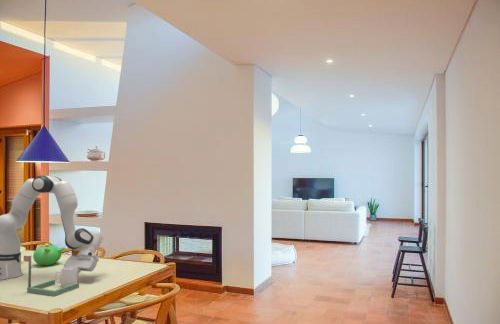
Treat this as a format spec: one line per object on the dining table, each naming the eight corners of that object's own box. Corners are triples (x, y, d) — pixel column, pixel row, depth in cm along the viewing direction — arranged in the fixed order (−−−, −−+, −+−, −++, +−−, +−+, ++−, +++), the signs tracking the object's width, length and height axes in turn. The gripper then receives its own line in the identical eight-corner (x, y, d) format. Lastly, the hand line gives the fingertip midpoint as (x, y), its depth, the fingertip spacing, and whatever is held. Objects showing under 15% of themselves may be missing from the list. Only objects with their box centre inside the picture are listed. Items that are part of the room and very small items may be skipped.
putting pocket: (47, 283, 235) (48, 249, 236) (78, 287, 228) (79, 252, 228) (21, 291, 219) (22, 255, 219) (54, 296, 211) (55, 258, 212)
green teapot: (52, 261, 293) (52, 240, 293) (67, 264, 284) (67, 243, 285) (28, 266, 277) (28, 244, 278) (42, 269, 269) (43, 247, 269)
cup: (76, 286, 229) (76, 268, 229) (52, 288, 225) (53, 270, 225) (77, 283, 237) (78, 265, 237) (55, 284, 233) (55, 266, 233)
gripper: (69, 251, 247) (56, 271, 237) (96, 254, 240) (84, 274, 231) (74, 257, 251) (62, 277, 242) (101, 260, 244) (89, 280, 235)
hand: (73, 275), depth 236 cm, fingers closed, pressing on cup
